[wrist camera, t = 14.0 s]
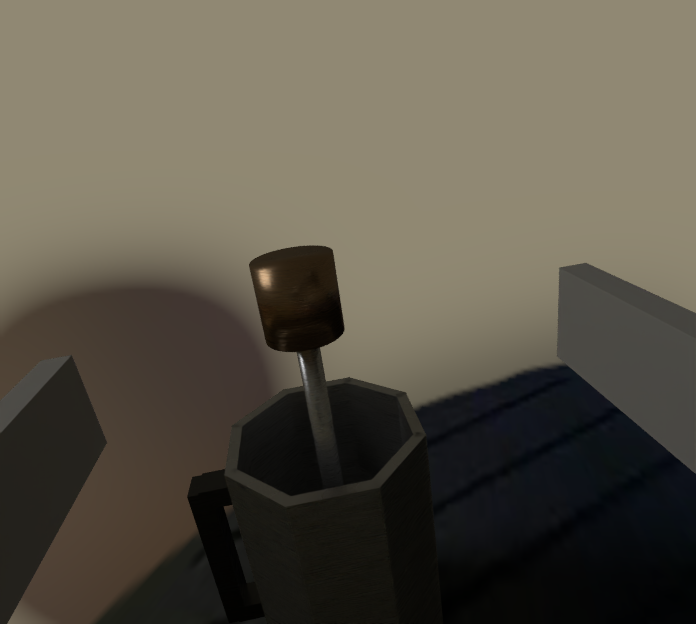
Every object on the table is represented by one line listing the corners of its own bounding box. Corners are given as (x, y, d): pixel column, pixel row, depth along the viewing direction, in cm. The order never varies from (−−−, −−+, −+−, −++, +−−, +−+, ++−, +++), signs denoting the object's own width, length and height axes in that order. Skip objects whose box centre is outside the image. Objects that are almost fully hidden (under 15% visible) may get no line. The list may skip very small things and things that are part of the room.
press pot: (417, 554, 38) (396, 366, 32) (466, 705, 28) (450, 476, 22) (251, 590, 37) (196, 404, 31) (241, 760, 27) (156, 536, 21)
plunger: (397, 566, 36) (353, 230, 26) (423, 663, 29) (377, 264, 20) (304, 586, 35) (224, 251, 26) (310, 690, 29) (206, 293, 19)
